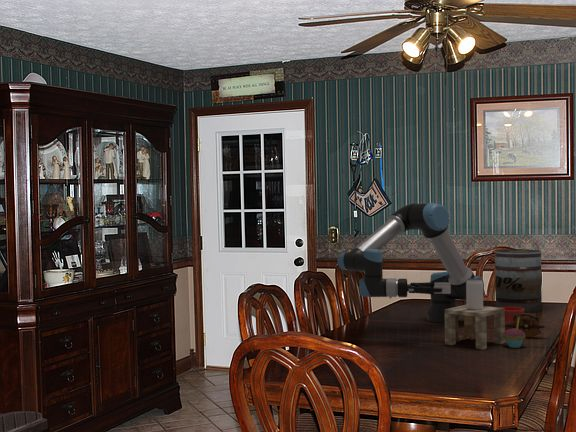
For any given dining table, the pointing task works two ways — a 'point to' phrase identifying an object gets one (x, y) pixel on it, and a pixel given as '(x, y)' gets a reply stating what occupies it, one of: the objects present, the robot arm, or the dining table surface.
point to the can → (474, 294)
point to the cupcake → (514, 336)
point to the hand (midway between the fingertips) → (450, 288)
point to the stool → (480, 324)
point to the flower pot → (511, 313)
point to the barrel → (518, 279)
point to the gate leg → (466, 328)
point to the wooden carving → (526, 324)
